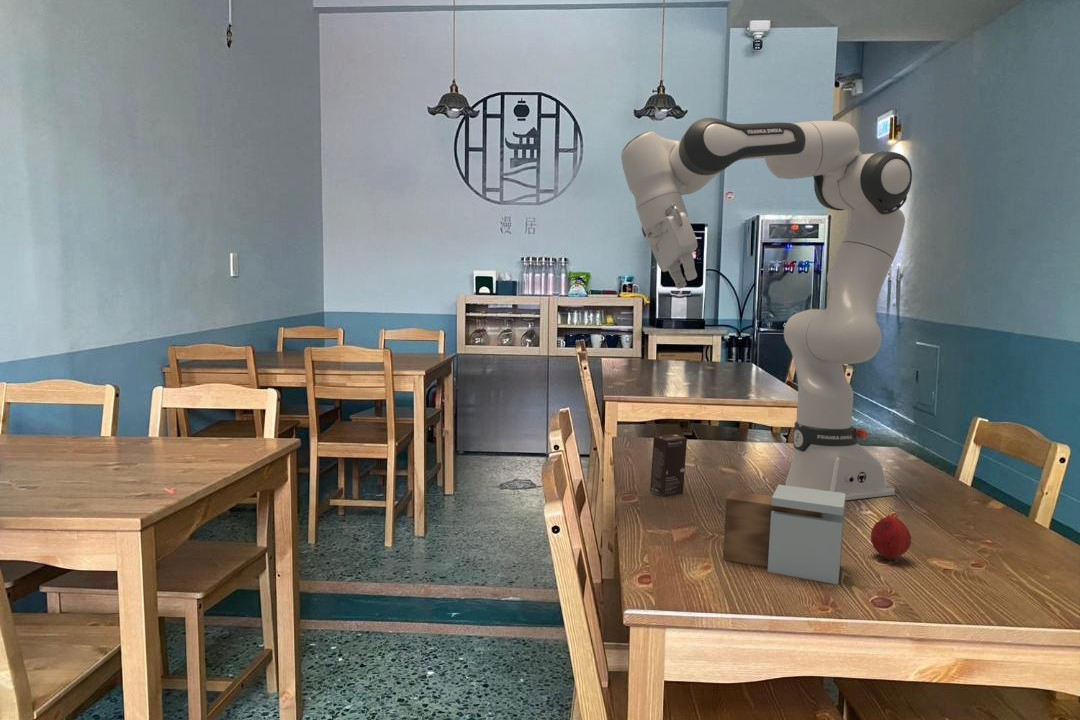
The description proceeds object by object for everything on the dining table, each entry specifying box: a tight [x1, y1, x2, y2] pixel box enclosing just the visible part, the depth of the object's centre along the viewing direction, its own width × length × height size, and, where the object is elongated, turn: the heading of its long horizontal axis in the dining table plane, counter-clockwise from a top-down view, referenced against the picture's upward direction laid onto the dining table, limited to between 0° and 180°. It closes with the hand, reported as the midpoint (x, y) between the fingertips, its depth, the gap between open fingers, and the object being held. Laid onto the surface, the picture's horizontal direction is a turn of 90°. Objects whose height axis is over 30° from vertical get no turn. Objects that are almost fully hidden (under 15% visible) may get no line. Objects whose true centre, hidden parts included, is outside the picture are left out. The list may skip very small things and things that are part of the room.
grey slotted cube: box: [767, 484, 846, 585], centre depth 111 cm, size 10×8×12 cm
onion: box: [870, 511, 912, 561], centre depth 116 cm, size 6×6×8 cm
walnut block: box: [722, 490, 823, 569], centre depth 113 cm, size 14×5×10 cm, turn 65°
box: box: [649, 433, 688, 497], centre depth 151 cm, size 6×4×12 cm
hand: (687, 283), depth 138 cm, fingers open, 8 cm apart
